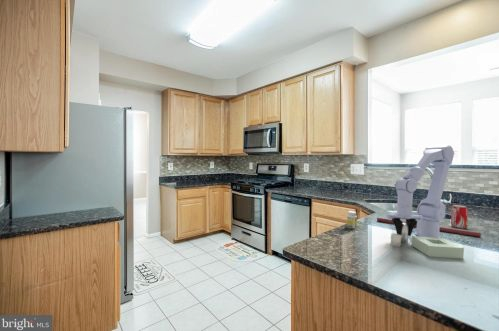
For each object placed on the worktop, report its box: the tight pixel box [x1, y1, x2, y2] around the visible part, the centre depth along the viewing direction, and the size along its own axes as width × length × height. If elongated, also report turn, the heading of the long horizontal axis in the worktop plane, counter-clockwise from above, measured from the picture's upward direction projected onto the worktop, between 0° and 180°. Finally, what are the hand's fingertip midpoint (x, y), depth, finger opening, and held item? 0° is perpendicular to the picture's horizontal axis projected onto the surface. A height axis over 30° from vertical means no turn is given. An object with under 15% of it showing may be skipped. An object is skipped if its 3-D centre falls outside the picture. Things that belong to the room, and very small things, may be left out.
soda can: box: [450, 204, 469, 229], centre depth 134 cm, size 7×7×12 cm
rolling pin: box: [376, 217, 482, 238], centre depth 131 cm, size 45×3×3 cm, turn 54°
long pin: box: [401, 223, 409, 244], centre depth 109 cm, size 4×4×8 cm
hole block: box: [411, 235, 465, 260], centre depth 97 cm, size 12×12×4 cm
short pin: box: [390, 233, 402, 248], centre depth 104 cm, size 4×4×4 cm
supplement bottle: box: [346, 210, 358, 229], centre depth 130 cm, size 5×5×8 cm
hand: (403, 235), depth 109 cm, fingers closed on long pin, 4 cm apart
